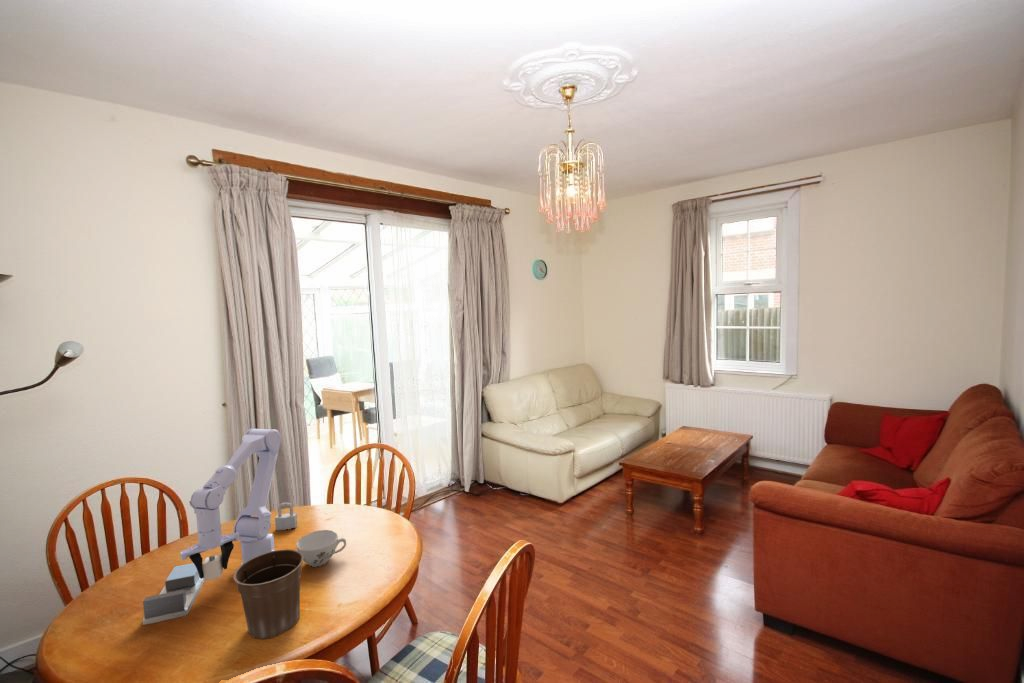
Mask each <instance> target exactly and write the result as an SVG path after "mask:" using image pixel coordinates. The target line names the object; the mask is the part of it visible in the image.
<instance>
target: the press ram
mask: <svg viewBox="0 0 1024 683" xmlns="http://www.w3.org/2000/svg"><path fill="white" fill-rule="evenodd" d="M202 568H203V567H202ZM198 578H199V574H198V571H197V568H196V566H195V565H194V563H193V562H191V563H186V564H182V565H177V566H174V567H173V569H172V570H171V572H170V574H169V575H168V577H167V578H166V580H165V581H164V583H165V585H164V586H166V591H167V590H172V589H177V588H181V587H186V586H191V585H195V583H196V582H197V580H198Z"/></svg>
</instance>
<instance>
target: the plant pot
mask: <svg viewBox="0 0 1024 683" xmlns="http://www.w3.org/2000/svg"><path fill="white" fill-rule="evenodd" d="M303 563H304V561H303V555H302V553H300V552H299V551H298V550H297V549H291V548H290V549H285V548H284V549H275V551H271V552H267V553H264V554H261V555H258V556H256V557H254V558H252V559H250V560H248V561H246V562H245V563H243V564H242V563H241V564H242V565H241V564H240V566H238V568H236V570H235V571H234V573H233V581H234V582H235V584H236V585H237V591H238V594H239V595H240V597H241V602H242V607H243V611H244V617H245V622H246V626H247V632H248V634H250V636H251V637H252V638H254V639H259V640H265V639H272V638H274V636H275V637H278V636H279V634H280V635H282V633H284V632H285V631H286V630H290V629H291V628H293V627H294V626H295V625H296V624H297V622H298V621H299V619H300V612H301V611H300V610H301V609H300V605H301V603H300V602H301V599H300V597H301V576H302V569H303V568H302V565H303Z"/></svg>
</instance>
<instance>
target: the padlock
mask: <svg viewBox="0 0 1024 683" xmlns="http://www.w3.org/2000/svg"><path fill="white" fill-rule="evenodd" d="M285 506H287V507H288V508H289V512H288V513H287V512H286V513H282V508H283V507H285ZM274 524H275V525H274V526H275V531H287V530H286V529H288V530H292V529H291V528H295V529H296V528H297V526H298V525H297V524H298V513H297V512H294V505H292V503H290V502H282V503H280V504H279V505H278V507H277V515H276V516H275V517H274Z"/></svg>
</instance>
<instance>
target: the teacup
mask: <svg viewBox="0 0 1024 683" xmlns="http://www.w3.org/2000/svg"><path fill="white" fill-rule="evenodd" d="M340 543H343V545H342V547H341V548H339V549H337V547H338V545H339V544H340ZM295 545H296V551H299V552H300V553H302V555H303V563H305V564H306V565H308V566H309V567H311V566H312V567H311V568H318V567H317V566H319V567H322V566H323V564H324V565H325V563H326V564H327V563H328V562H329V560H331V558H332V557H333V555H335V554H337V553H340V552H342V551H343V550H344V549H345V548H346V546H347V540H346V538H343V537H342V538H339V536H338V533H337V532H335V531H333V530H330V529H322V530H316V531H312V532H310V533H307V534H305V535H302V536H301V537H300V538H299V539H298V540H297V541H296V544H295ZM321 565H322V566H321Z"/></svg>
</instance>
